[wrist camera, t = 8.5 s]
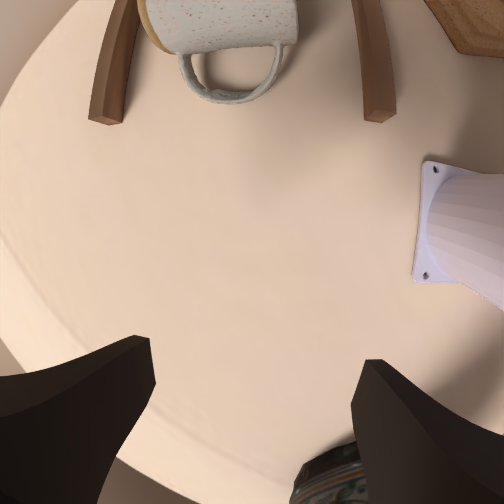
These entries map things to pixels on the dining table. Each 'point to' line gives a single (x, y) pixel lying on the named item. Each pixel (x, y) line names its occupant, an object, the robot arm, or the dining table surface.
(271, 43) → the ceramic mug
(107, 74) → the walnut dock
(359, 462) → the beer stein
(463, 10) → the candle holder
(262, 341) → the dining table surface
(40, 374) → the robot arm
